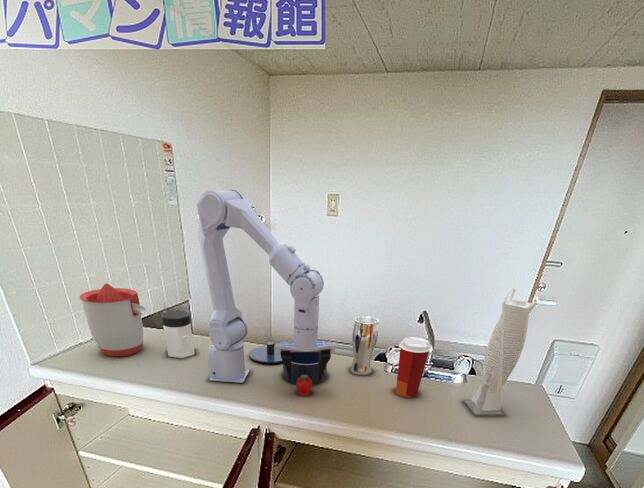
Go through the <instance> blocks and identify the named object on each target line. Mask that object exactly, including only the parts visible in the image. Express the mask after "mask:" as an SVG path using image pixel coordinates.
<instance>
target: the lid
mask: <svg viewBox="0 0 644 488" xmlns="http://www.w3.org/2000/svg"><path fill="white" fill-rule="evenodd" d="M265 346H267V347H265ZM248 355H249V358H250V359H251V360H253V361H255V362H257V363H262V364H280V363H283V361H282V358H281V354H280V353H276V345H275V342H274V341H267V342H266V345H262V346H258V347H254V348H253V349H251V350H250V351H249V353H248Z"/></svg>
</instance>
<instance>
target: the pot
mask: <svg viewBox="0 0 644 488" xmlns="http://www.w3.org/2000/svg"><path fill="white" fill-rule="evenodd" d="M290 353H291V381H289V380H288V373H287V370H286V367H285V365H284V363H283V362H282V377H283V379H284V380H285V381H286V382H288V383H291V384H293V385H296V382H297V380H298V378H299V377H301V375H308V377H309V378H310V379H311V380H312V386H313V385H317V384H320V383H322V382H324V381H325V380H326V379H327V370H328V369H327V368H328V364H327V365H326V367H325V369H324V371H323V374H322V377H321V380H318V377H317V372H318V352H290Z"/></svg>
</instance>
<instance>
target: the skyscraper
mask: <svg viewBox="0 0 644 488" xmlns="http://www.w3.org/2000/svg"><path fill="white" fill-rule="evenodd" d="M515 293H516V288H515V287H514V288H512V289H510V290H509V291H508V292H507V294H506V295H505V297H504V298H503V301H502V303H501V314H500V316H499V318H498V319H497V322H496V324H495V326H494V328H493V330H492V333H491V335H490V337H489V340H488V344H487V347H486V351H485V354H484V360H483V365H482V372H481V378H480V379H481V380H480V386H479V387H478V388H477V390H476V392H475V394H474V395H473V397H472V398H471V400H464V401H463V403H464V404H465V405H466V407H467V408H468V409H469V410H470V412H472V413H473V415H474V416H475V417H487V416H489V417H490V416H491V417H493V416H495V417H496V416H498V417H499V416H504V412H502V411H501V406H502V405H501V404H502V387H503V386H504V385H505V384H506V382H507V381H508V379H509V378H510V376H511V375H512V373H513V371H514V369H515V367H516V366H517V364H518V362H519V359H520V358H521V355H522V352H523V350H524V346H525V342H526V338H527V334H528V326H529V317H530V313H531V312H532V311H533V310H534V308H535V307H536V305H537V301H536V300H534V301H532V302H528V300H527V299H526V298H522V297H514V295H515ZM509 296H510V298H509ZM508 298H509V300H508Z"/></svg>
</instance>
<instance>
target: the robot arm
mask: <svg viewBox="0 0 644 488" xmlns="http://www.w3.org/2000/svg"><path fill="white" fill-rule="evenodd" d="M196 209H197V213H198V221H197V230H196V231H197V238H198V243H199V248H200V251H201V257H202V262H203V265H204V271H205V275H206V281H207V285H208V290H209V294H210V298H211V303H212V307H213V311H212V314H211V317H210V318H209V321H208V322H209V340H210V342H211V344H210V345H209V347H208V350H207V362H208V363H207V364H208V370H209V381H210V382H211V381H212V382H223V383H224V382H225V383H239V384H243V383H244V382H245V380H246V378H247V376H248V375H249V373H250V369H246V366H245V365H246V363H245V347H244V343H245V338H246V337H247V336H248V332H249V330H248V325H247V323H246V321H245V319H244V317H243V312H242V311H241V310H240V309H238V307H237V306H236V303H235V298H234V293H233V288H232V284H231V283H232V282H231V276H230V272H229V266H228V261H227V256H226V251H225V246H224V245H225V244H224V240H223V239H224V237H225V236H226V234H227V233H228V231H229V230H230V229H231V228H234V229H235V228H237V229H241V230H242V231H244V232H245V233H246V234H247V235H248V236H249V237H250V239H252V240H253V241H254V242H255V243H256V244H257V245H258V246H259V247H260V248H261V249H262V250H263V251H264V252H265V253H266V254H267V255H268V262H269V265H270V267H271V268H273V269H274V271H275V272H276V273H277V274H278V275H279V276H280V277H281V278H282V279H283V280H284V281H285V283H286V284H287V285H288V286H289V292H290V294H291V296H292V298H293V301H294V308H293V310H294V311H293V315H294V316H293V340H292V341H287V342H286V341H284V342H276V343H275V346H276V353H280V354H281V358H282V361H283V362H282V364H283V363H284V365H285V367H286V370H287V373H288V380H289V381H291V353H290V352H318V372H317V377H318V380H321V377H322V374H323V371H324V369H325V367H326V365H327V366H328V363H329V362H330V360H331V358H332V353H335V352H336V343H335V342H333V341H320V340H318V338H319V337H318V336H319V316H320V315H319V314H320V294H321V293H322V291H323V290H324V286H325V285H324V284H325V283H324V279H323V277H322V274H321V273H320V271H319V270H317V269H315V268H314V269H313V268H311V266H310V265H309V264H308V263H305V262H304V260H302V258H301V257H300V256H299V254H297V253H296V251H297V249H296V248H295V247H294V246H293V245H289V244H288V243H281V242H279V241H278V240H277V238H276V237H275V236H274V234H273V233H272V232H271V231H270V229H269V228H268V227H267V225H266V224H265V223H264V221H262V219H261V218H260V217H259V215H258V214H257V213H256V211H254V209H253V207H252V205H251V203H250V202H249V201H248V200H247V199H246V198H244V196H243V194H241V192H240V191H239V190H237V189H228V190H207V191H205V192H204V193H203V194H202V195H201V197H200V199H199V200H198V201H197V203H196Z"/></svg>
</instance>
